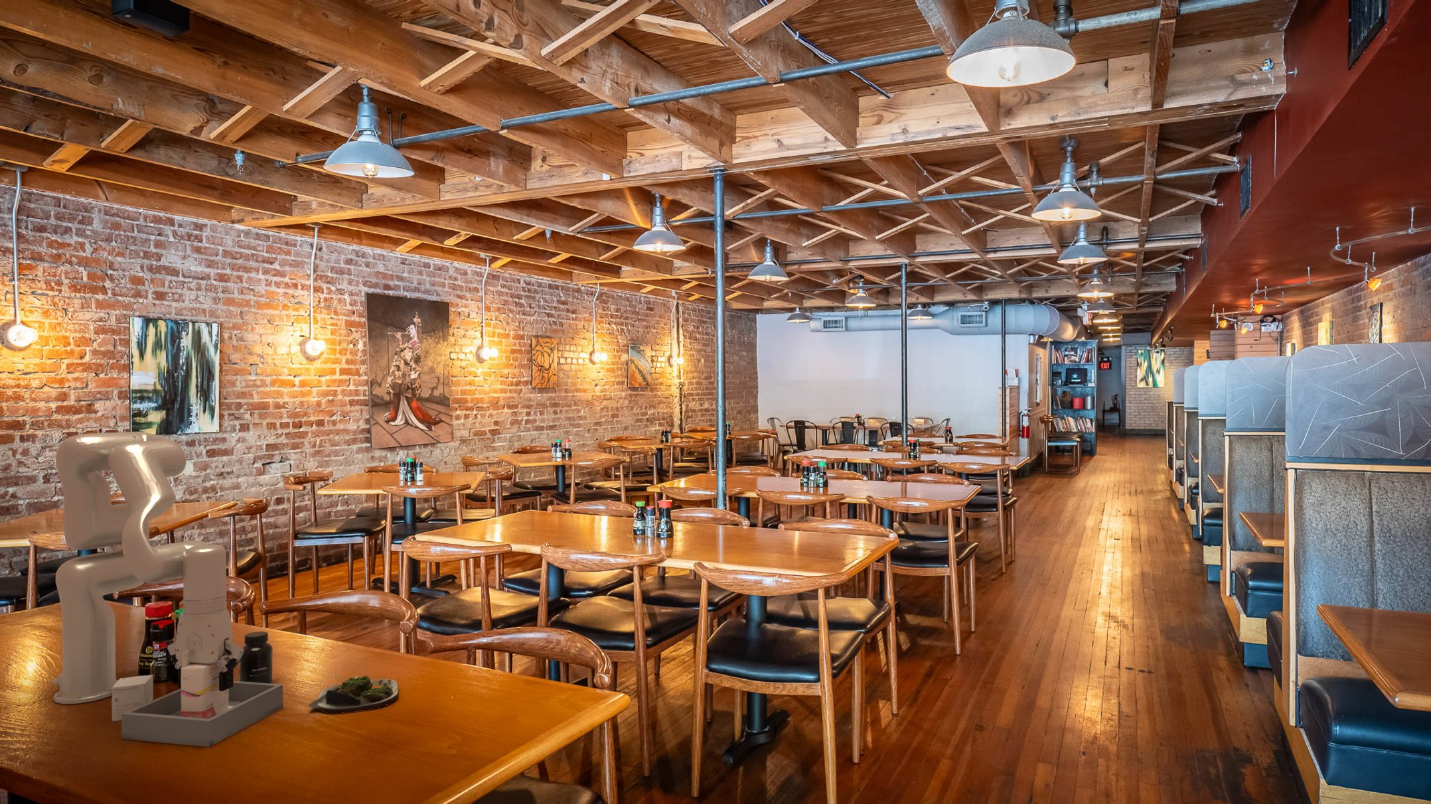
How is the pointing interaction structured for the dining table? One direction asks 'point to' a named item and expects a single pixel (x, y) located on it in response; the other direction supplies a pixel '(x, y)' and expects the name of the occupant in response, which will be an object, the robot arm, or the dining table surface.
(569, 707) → the dining table surface
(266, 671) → the supplement bottle
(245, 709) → the walled box
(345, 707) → the salad plate
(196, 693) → the ink cartridge box
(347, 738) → the dining table surface
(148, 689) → the product box
